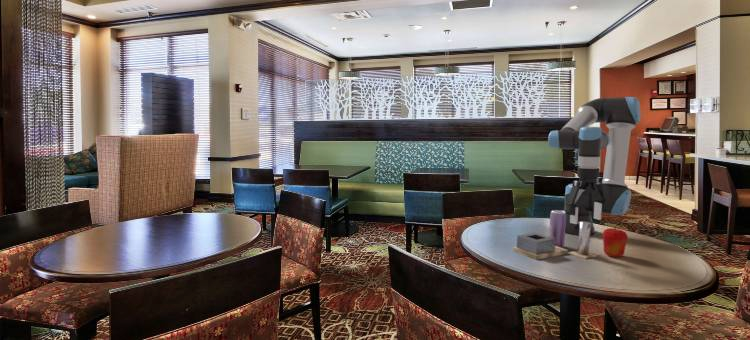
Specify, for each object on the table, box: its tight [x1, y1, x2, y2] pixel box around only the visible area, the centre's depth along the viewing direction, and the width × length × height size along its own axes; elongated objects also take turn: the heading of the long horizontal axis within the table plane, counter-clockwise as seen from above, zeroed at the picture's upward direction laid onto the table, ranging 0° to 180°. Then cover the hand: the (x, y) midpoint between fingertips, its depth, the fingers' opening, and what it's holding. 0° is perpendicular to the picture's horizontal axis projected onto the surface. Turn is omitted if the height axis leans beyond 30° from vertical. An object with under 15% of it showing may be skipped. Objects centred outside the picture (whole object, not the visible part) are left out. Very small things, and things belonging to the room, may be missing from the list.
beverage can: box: [548, 209, 566, 249], centre depth 172 cm, size 6×6×15 cm
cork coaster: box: [568, 250, 598, 260], centre depth 162 cm, size 7×7×1 cm
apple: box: [602, 226, 629, 258], centre depth 161 cm, size 9×8×12 cm
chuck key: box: [577, 221, 594, 255], centre depth 161 cm, size 6×4×12 cm
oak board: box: [512, 246, 569, 260], centre depth 165 cm, size 17×12×2 cm
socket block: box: [516, 232, 555, 255], centre depth 164 cm, size 10×10×5 cm
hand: (585, 221), depth 161 cm, fingers open, 13 cm apart
